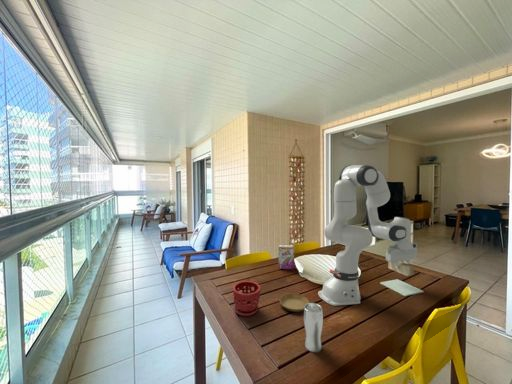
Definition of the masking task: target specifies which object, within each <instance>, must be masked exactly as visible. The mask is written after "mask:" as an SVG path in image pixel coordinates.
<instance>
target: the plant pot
mask: <svg viewBox="0 0 512 384" xmlns="http://www.w3.org/2000/svg"><path fill="white" fill-rule="evenodd" d="M252 287H253V290H252ZM240 291H241V292H240ZM232 293H233V302H234V305H233V307H234V311H235V313H236V314H237V315H239V316H242V317H249V316H252V315H254V314H255V313H257V312H258V310H259V306H258V305H259V302H260V297H261V286H260V284H259V283H257V282H254V281H250V280H249V281H247V280H246V281H245V280H243V281H239V282H237V283H236V284H235V285H233V288H232Z"/></svg>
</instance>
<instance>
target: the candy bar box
mask: <svg viewBox="0 0 512 384" xmlns="http://www.w3.org/2000/svg"><path fill="white" fill-rule="evenodd" d="M294 269H295V246H294V245H288V244H287V245H285V244H278V270H294Z"/></svg>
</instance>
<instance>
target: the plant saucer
mask: <svg viewBox="0 0 512 384" xmlns="http://www.w3.org/2000/svg"><path fill="white" fill-rule="evenodd" d="M279 303H280V305H281V306H282V307H283V308H284V309H286V310H287V311H290V312H295V313H298V312H302V311H304V306H305V305H306V304H307V303H310V300H309V299H308V298H307V297H305V296H304V295H302V294H299V293H285V294H283V295H281V296H280V298H279Z"/></svg>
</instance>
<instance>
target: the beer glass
mask: <svg viewBox="0 0 512 384" xmlns="http://www.w3.org/2000/svg"><path fill="white" fill-rule="evenodd" d="M303 324H304V330H305V342H304V346H305V348H306V350H307V351H309V352H312V353H319V352H320V351H321V350H322V346H323V345H322V342H321V341H322V339H321V338H322V337H321V336H322V331H323V326H324V325H323V324H324V316H323V307H322V306H321V305H320V304H318V303H315V302H309V303H307V304H306V305H305V306H304V310H303Z"/></svg>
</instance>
